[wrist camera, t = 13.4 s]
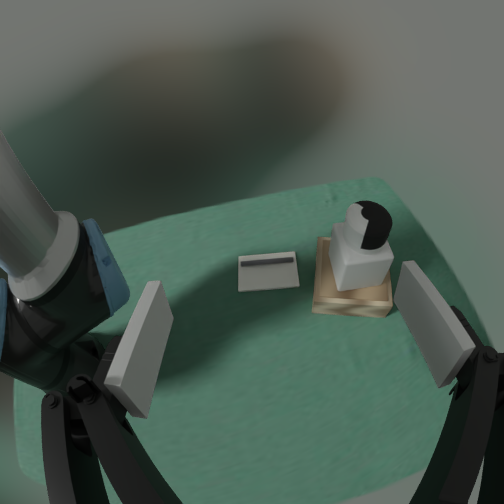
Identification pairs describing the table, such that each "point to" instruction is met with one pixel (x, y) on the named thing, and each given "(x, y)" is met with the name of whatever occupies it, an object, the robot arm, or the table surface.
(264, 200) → the table surface
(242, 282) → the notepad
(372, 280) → the medicine bottle
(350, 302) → the beech tray
